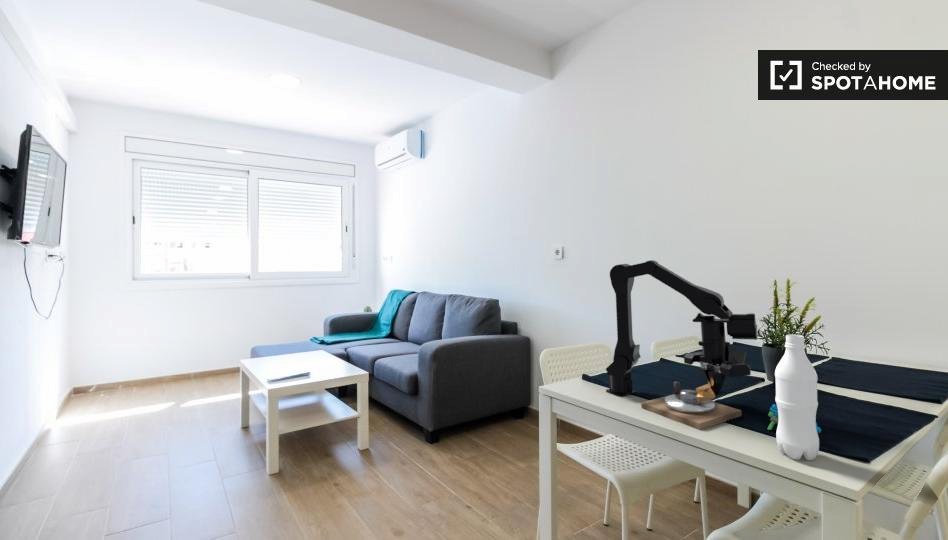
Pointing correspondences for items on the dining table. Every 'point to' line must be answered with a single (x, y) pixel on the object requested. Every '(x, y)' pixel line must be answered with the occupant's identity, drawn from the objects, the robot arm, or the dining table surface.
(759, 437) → the dining table surface
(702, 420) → the base board
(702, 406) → the flange
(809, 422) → the water bottle
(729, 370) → the robot arm
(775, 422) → the green blue toy figure
